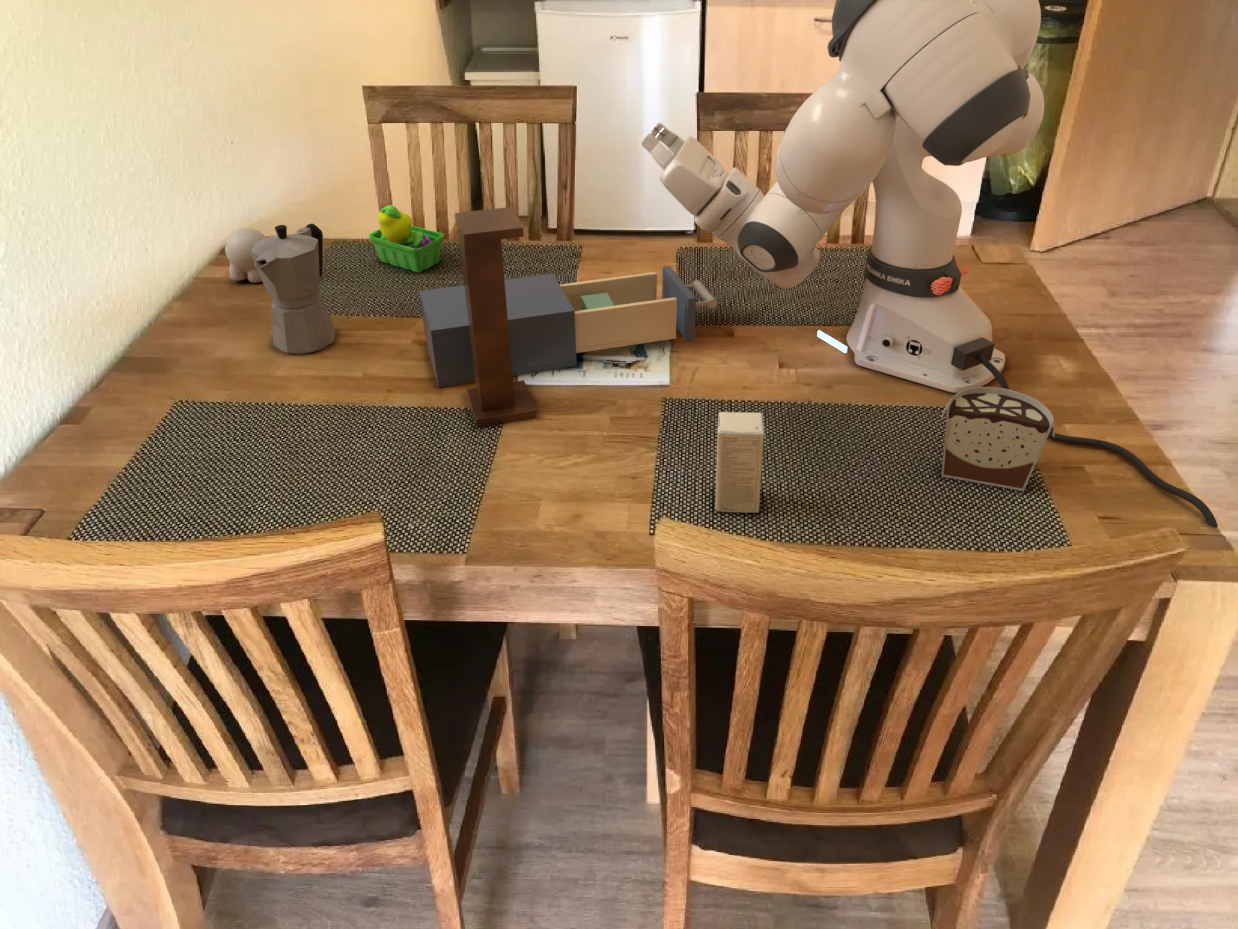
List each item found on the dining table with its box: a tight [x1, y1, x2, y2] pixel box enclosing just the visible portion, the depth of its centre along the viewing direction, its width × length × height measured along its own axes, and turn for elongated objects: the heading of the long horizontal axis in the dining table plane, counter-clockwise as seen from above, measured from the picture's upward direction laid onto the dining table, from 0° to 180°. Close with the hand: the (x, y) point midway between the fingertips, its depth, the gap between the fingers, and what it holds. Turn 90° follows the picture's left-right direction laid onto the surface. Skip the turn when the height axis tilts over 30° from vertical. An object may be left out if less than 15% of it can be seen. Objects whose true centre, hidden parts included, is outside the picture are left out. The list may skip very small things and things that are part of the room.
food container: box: [940, 386, 1056, 492], centre depth 115 cm, size 12×6×10 cm, turn 71°
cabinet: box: [418, 273, 578, 388], centre depth 140 cm, size 20×13×9 cm, turn 106°
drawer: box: [559, 265, 718, 354], centre depth 144 cm, size 23×12×7 cm, turn 106°
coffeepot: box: [251, 223, 337, 355], centre depth 142 cm, size 15×9×18 cm, turn 162°
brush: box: [581, 293, 614, 310], centre depth 144 cm, size 12×5×4 cm, turn 104°
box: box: [714, 411, 765, 514], centre depth 110 cm, size 5×4×11 cm
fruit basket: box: [368, 204, 445, 274], centre depth 166 cm, size 11×9×11 cm
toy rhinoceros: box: [224, 227, 268, 284], centre depth 162 cm, size 7×12×8 cm, turn 82°
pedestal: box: [454, 206, 538, 428], centre depth 123 cm, size 8×8×26 cm
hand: (650, 132), depth 137 cm, fingers open, 8 cm apart
